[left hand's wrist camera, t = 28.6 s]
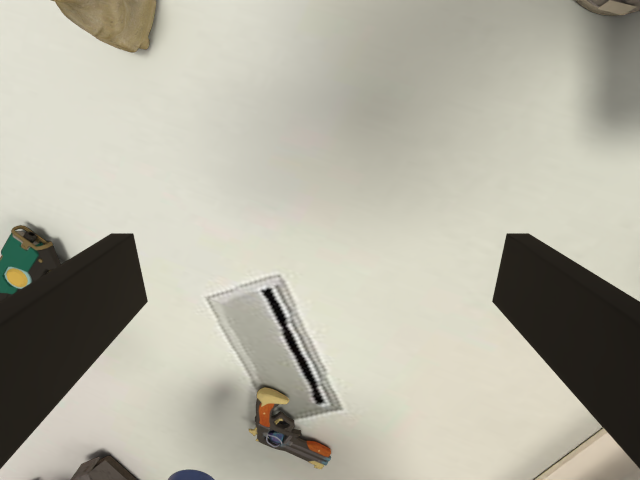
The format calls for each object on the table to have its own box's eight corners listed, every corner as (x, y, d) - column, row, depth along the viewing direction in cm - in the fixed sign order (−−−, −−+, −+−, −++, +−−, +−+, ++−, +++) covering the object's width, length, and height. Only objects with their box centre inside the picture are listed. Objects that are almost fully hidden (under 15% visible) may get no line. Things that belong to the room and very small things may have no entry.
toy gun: (262, 392, 54) (227, 436, 55) (355, 437, 59) (321, 475, 61) (262, 380, 56) (229, 422, 58) (352, 424, 61) (319, 461, 63)
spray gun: (43, 344, 54) (-35, 270, 50) (117, 299, 50) (39, 214, 46) (19, 363, 50) (-67, 284, 46) (97, 316, 46) (10, 224, 42)
